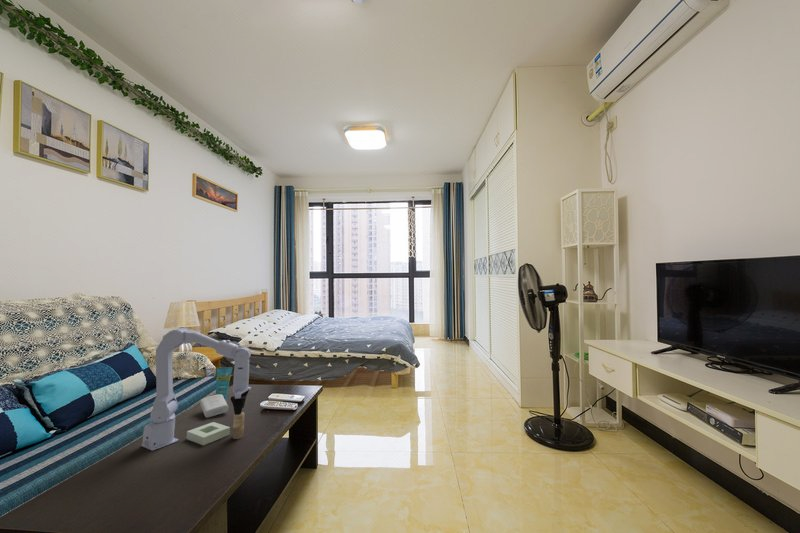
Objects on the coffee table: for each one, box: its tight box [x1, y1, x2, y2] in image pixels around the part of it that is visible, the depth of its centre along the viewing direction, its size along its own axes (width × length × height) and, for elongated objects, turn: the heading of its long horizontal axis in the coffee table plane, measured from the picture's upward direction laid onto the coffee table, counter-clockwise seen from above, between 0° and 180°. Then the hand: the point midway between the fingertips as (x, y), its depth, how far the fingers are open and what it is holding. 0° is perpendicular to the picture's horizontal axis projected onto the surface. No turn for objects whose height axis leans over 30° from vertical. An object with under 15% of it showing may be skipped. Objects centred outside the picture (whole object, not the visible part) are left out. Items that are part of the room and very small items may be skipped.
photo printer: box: [199, 394, 229, 419], centre depth 159 cm, size 10×4×12 cm
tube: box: [215, 366, 234, 402], centre depth 169 cm, size 7×5×19 cm, turn 123°
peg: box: [232, 411, 245, 440], centre depth 135 cm, size 4×4×9 cm
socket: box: [186, 421, 231, 446], centre depth 134 cm, size 11×11×3 cm
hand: (239, 411), depth 135 cm, fingers open, 7 cm apart
